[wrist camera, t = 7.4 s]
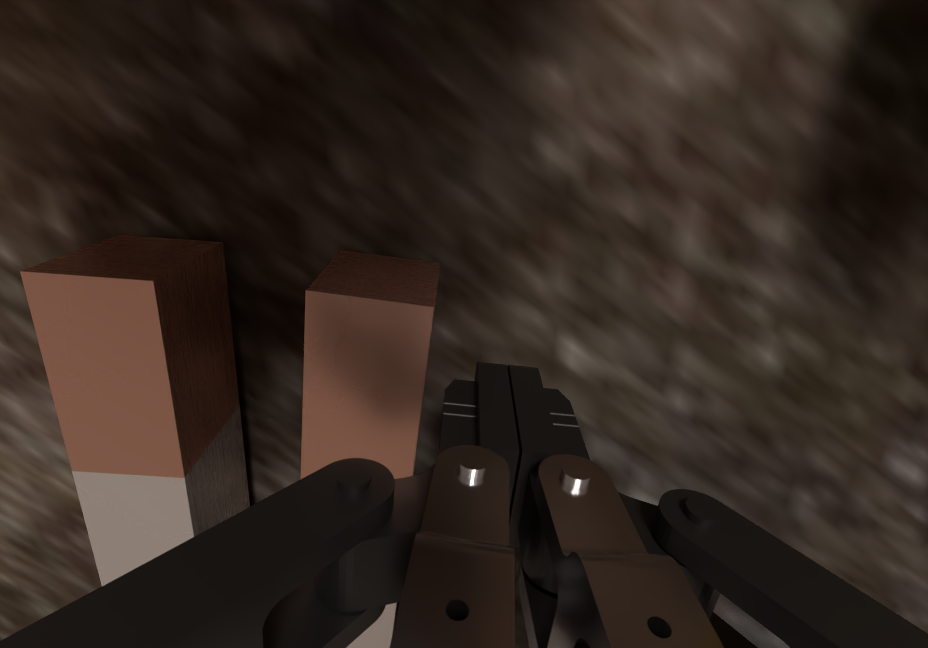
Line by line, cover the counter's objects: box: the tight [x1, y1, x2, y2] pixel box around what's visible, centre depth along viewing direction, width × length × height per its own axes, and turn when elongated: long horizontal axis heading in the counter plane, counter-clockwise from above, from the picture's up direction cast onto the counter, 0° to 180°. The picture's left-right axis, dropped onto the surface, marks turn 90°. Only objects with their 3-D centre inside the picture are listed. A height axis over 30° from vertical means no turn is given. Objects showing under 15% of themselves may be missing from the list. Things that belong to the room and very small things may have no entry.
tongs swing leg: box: [301, 250, 441, 648], centre depth 15 cm, size 21×4×3 cm, turn 172°
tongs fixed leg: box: [20, 235, 250, 586], centre depth 16 cm, size 24×7×3 cm, turn 176°
